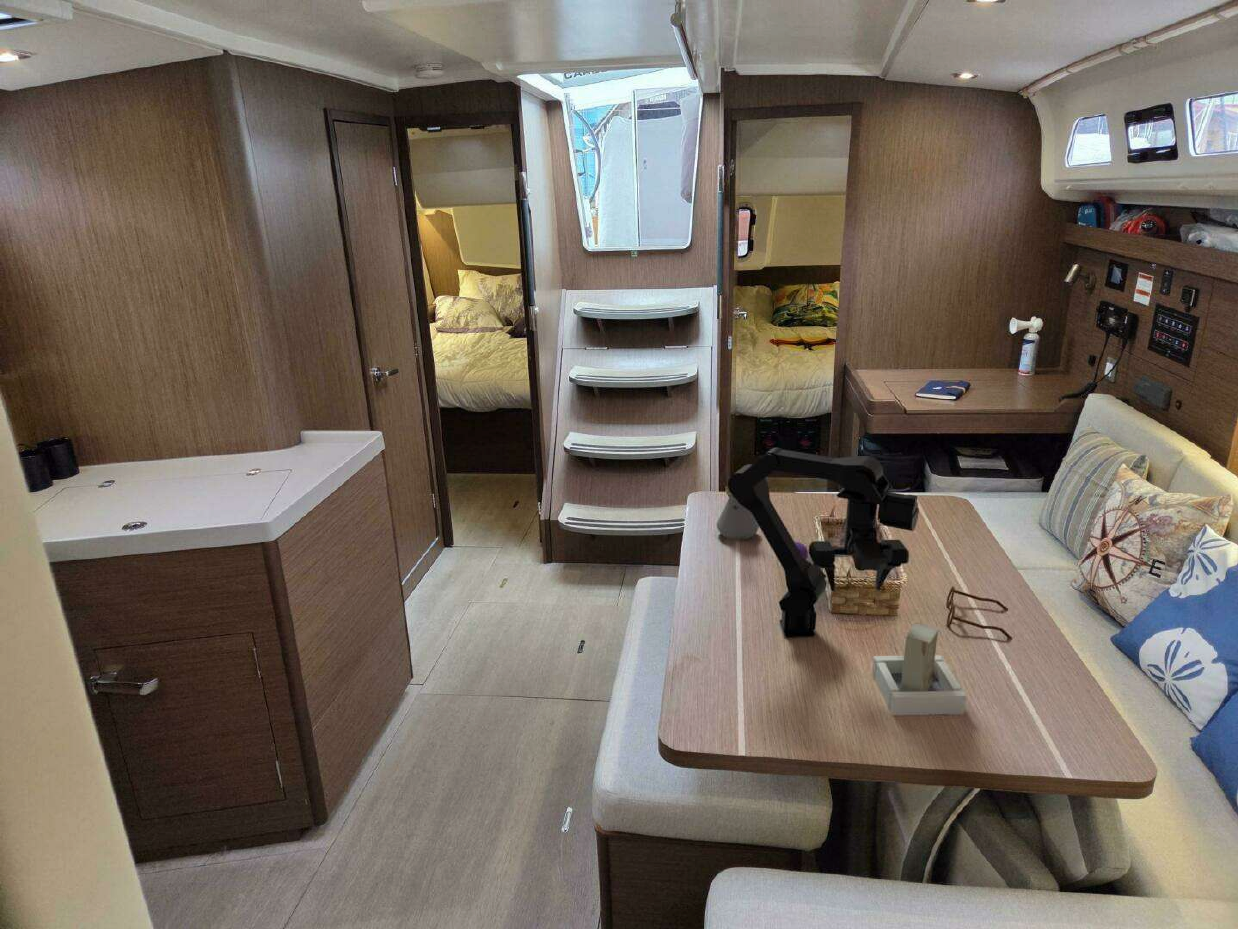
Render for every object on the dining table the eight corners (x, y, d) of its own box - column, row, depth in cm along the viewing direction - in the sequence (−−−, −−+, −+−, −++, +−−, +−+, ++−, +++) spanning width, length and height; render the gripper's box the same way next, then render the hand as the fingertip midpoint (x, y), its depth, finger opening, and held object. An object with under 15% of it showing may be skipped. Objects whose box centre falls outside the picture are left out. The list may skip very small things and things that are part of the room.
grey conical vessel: (718, 524, 226) (719, 475, 221) (759, 527, 224) (761, 477, 219) (710, 558, 207) (711, 505, 202) (755, 562, 205) (757, 508, 199)
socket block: (892, 715, 147) (894, 697, 145) (871, 673, 159) (873, 656, 157) (963, 714, 146) (966, 696, 145) (937, 672, 159) (940, 655, 157)
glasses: (945, 601, 185) (948, 582, 183) (1008, 610, 180) (1011, 591, 179) (946, 631, 173) (949, 611, 171) (1012, 641, 169) (1016, 621, 167)
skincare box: (922, 700, 149) (929, 644, 144) (899, 692, 151) (905, 636, 147) (932, 683, 154) (939, 628, 149) (909, 675, 156) (915, 621, 152)
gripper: (823, 538, 151) (818, 611, 157) (922, 536, 151) (914, 609, 156) (810, 514, 162) (806, 583, 167) (903, 512, 161) (895, 581, 167)
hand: (854, 589), depth 164 cm, fingers open, 9 cm apart
